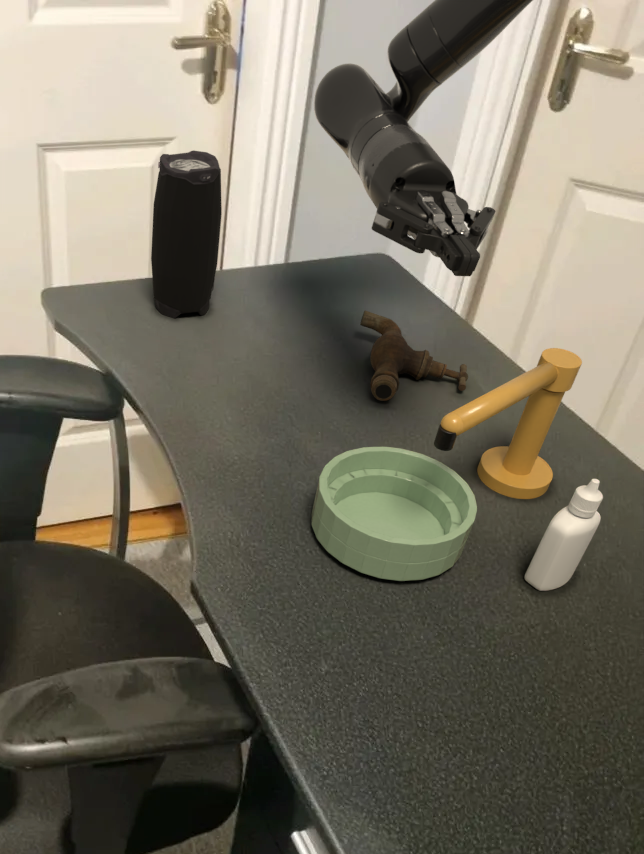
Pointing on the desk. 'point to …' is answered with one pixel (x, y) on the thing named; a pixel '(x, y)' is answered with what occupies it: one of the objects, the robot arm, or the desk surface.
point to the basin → (392, 513)
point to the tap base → (523, 452)
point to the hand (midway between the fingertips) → (468, 267)
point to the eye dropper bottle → (566, 539)
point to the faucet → (400, 359)
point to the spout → (511, 394)
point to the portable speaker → (186, 232)
